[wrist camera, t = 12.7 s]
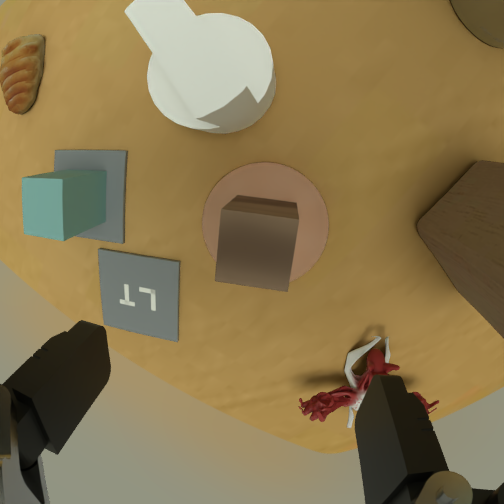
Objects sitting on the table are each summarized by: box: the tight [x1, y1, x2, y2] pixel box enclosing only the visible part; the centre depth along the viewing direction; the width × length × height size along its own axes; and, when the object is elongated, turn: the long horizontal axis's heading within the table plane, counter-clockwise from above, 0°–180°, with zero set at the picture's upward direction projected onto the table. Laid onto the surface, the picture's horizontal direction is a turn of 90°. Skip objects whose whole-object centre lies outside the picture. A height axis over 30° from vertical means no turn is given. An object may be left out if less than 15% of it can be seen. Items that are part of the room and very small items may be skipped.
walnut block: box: [215, 195, 299, 292], centre depth 25 cm, size 5×5×7 cm
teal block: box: [22, 169, 107, 241], centre depth 26 cm, size 5×5×7 cm
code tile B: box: [54, 150, 128, 244], centre depth 29 cm, size 9×9×1 cm
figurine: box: [299, 336, 439, 428], centre depth 29 cm, size 15×12×7 cm
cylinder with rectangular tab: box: [124, 0, 276, 134], centre depth 19 cm, size 9×9×12 cm
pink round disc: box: [202, 162, 329, 282], centre depth 28 cm, size 11×11×1 cm
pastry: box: [0, 34, 45, 114], centre depth 24 cm, size 9×7×4 cm
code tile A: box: [98, 248, 180, 342], centre depth 32 cm, size 9×9×1 cm
